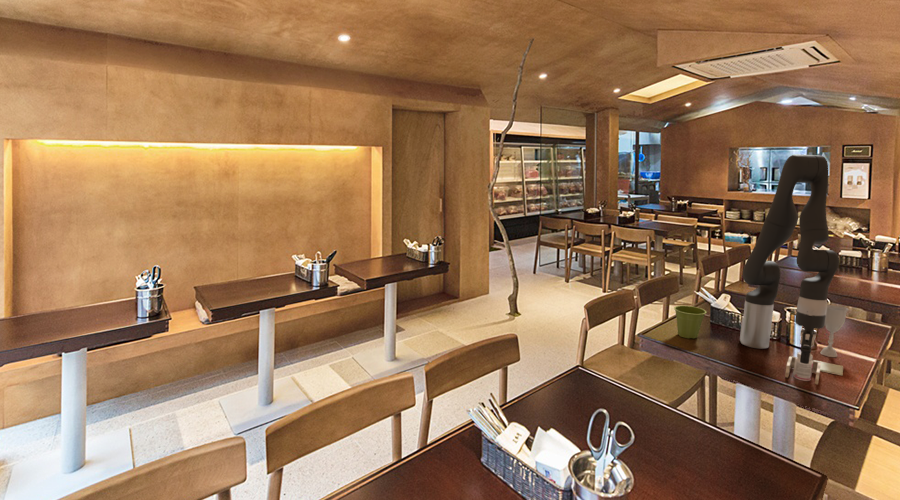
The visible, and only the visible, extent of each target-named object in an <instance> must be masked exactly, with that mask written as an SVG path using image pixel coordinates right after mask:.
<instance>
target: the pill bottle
mask: <svg viewBox="0 0 900 500" xmlns="http://www.w3.org/2000/svg"><path fill="white" fill-rule="evenodd" d="M796 357H797V358H796V359H795V364H794V369H793V373H792V377H793V378H794V379H796V380H798V381H799V380H800V381H804V382H810V381H811V380H812V374H813V373H812V368H813V361H814V360H813V354H812V353H810V357H809V363H808V364H804V363H801V362H800V358H801V351H798V352H797V354H796Z"/></svg>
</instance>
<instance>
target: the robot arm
mask: <svg viewBox="0 0 900 500" xmlns="http://www.w3.org/2000/svg"><path fill="white" fill-rule="evenodd" d="M799 183H800V184H809V185H810V195H809V198H808V200H807V202H806V204H805V205H804V206H803V209H802V210H801V212H800V215H799V214H798V211H797V209H796V206H795V202H794V199H793V195H794V190H795V187H796V185H797V184H799ZM828 183H829V164H828V160H827V158H826V157H825V156H823V155H820V154H819V155H818V154H791V155H790V156H789V157H788V158H787V159H786V160H785V162H784V164H783V167H782V168H781V173H780V176H779V180H778V184H777V186H776V191H775V194H774V196H773V199H772V202H771V205H770V208H769V210H768V212H767V213H766V217H765V219H764V221H763V225H762V227H761V230H760V232H759V236H758V238H757V240H756V242H755V245H754V246H753V249H752V250H751V253H750V254H749V256H748V258H747V260H746V262H745V264H744V266H743V269H742V279H743V281H744V283H746V284H747V285H749V286H750V285H751V286H757V288H755V289H753V290H752V291H748V292H747V293H746V294H745V297H744V298H745V299H744V307H743V308H744V309H743V310H744V311H743V317H742V318H741V324H740V325H741V326H740V333H739V334H740V336H739V341H740V343H741V344H742V345H744V346H745V347H749V348H752V349H753V348H754V349H759V350H760V349H762V350H763V349H768V348H769V347H770V338H771V330H772V323H773V314H774V305H775V300H776V298H777V296H778V290H779V287H780V286H779V285H780V282H781V281H780V280H781V269H780V265H779V264H778V263H777V262H775V261H773V260H768V259H769V257H770V256H771V255H772V254H773V253H774V252H775V251H777V249H779V248H780V247H782V246H783V245H784V244H785V243H786V242H787V241H788V240H789V239H790V238H791V237H792V235H793V234H794V233H793V232H795V231H794V230H795V229H796V226H797V224H798V223H799V233H800V241H799V248H798V252H797V256H796V265H797V267H798V268H799V270H801V271H802V272H805V273H806V272H807V273H808V272H809V273H811V272H812V273H816V275H815V276H813V277H807V278H806V277H805V278H803V279H802V280H801V282H800V286H799V287H800V289H799V295H798V296H799V297H798V299H797V303H796V313H795V321H794V322H795V324H796V325H797V326H800V327H803V328H801V330H800V335H799V336H800V339H799V341H800V342H799V344H800V345H801V346H800V350H799V351H800V352H801V358H800V362H801V363H804V364H808V363H809V357H810V354H812V353H811V352H812V348H813V347H815V346H814V344H815V339H816V338H817V337H816V336H817V332H818V331H817V330H815V329H818V330H819V329H823V328H825V327H826V326H825V319H826V311H827V305H828V293H829V288H830V285H831V283H832V281H833V279H834V276H835V274H836V273H837V271H838V269H839V266H840V257H839V254H838V253H837V252H836V251H834V250H832V249H813V247H814V245H819V244H823V243H826V242H828V240H829V238H830V237H829V235H830V234H829V227H828V220H827V200H828V199H827V196H828ZM798 221H799V222H798Z"/></svg>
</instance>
